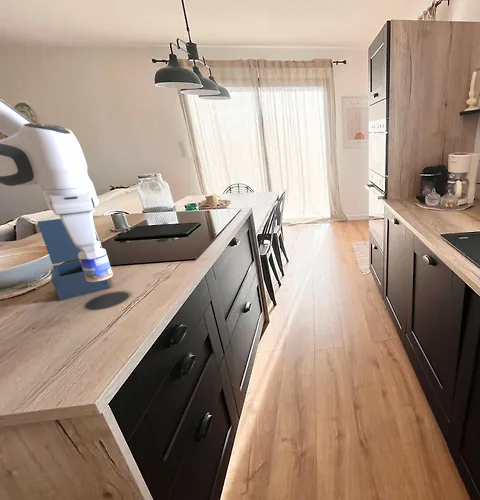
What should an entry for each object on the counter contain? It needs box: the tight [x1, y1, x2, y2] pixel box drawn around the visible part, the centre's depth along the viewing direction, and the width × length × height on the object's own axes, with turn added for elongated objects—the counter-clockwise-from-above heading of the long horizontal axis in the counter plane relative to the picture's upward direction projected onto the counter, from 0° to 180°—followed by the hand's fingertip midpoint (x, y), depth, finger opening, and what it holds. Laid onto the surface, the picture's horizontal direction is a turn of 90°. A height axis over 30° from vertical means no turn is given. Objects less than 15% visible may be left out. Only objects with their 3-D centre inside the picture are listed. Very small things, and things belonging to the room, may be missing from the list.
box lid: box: [36, 218, 81, 265], centre depth 84 cm, size 12×11×1 cm
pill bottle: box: [78, 240, 114, 282], centre depth 73 cm, size 5×5×10 cm
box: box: [50, 260, 111, 301], centre depth 83 cm, size 12×11×7 cm
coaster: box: [85, 291, 130, 311], centre depth 77 cm, size 9×9×1 cm
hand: (92, 254), depth 72 cm, fingers closed on pill bottle, 5 cm apart
